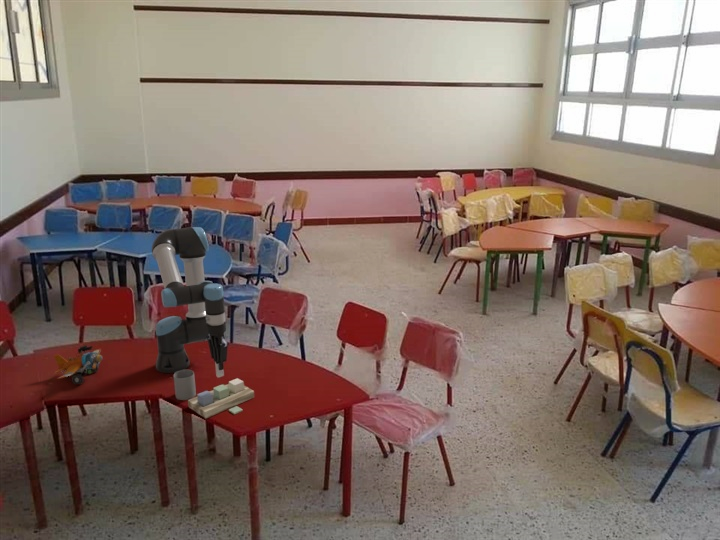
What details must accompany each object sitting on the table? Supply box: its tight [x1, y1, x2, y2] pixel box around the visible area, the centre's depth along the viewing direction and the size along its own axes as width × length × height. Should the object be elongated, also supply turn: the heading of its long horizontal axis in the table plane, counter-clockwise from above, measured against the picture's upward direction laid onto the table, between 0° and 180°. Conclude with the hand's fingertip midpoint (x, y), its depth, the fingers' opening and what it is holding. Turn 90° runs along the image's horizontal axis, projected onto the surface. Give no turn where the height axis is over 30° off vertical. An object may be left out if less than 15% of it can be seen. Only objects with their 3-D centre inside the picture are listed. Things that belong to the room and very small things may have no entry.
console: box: [187, 383, 255, 420], centre depth 242 cm, size 13×24×3 cm, turn 136°
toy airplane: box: [53, 344, 104, 385], centre depth 260 cm, size 29×23×15 cm
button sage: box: [212, 383, 229, 400], centre depth 241 cm, size 4×4×4 cm
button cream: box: [228, 377, 245, 394], centre depth 246 cm, size 4×4×4 cm
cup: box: [173, 369, 197, 401], centre depth 246 cm, size 8×8×10 cm
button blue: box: [196, 390, 214, 407], centre depth 236 cm, size 4×4×4 cm
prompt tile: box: [228, 405, 243, 415], centre depth 235 cm, size 4×4×1 cm
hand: (220, 376), depth 238 cm, fingers closed
